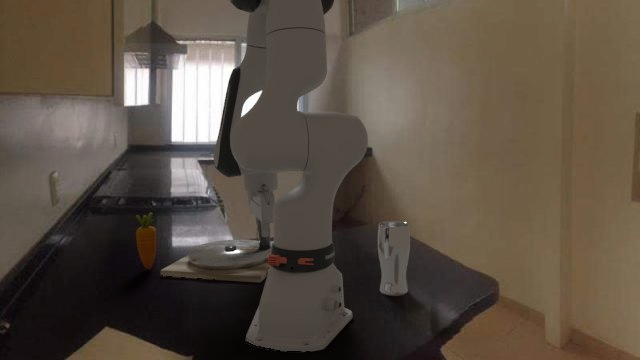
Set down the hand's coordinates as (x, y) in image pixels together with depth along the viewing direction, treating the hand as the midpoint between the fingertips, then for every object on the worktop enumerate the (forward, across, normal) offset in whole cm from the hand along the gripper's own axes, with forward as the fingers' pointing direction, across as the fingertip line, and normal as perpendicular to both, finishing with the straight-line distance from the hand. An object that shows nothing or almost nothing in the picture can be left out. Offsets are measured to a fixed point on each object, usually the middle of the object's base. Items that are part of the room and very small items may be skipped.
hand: (262, 234), depth 127 cm
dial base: (+7, +1, +9) cm, 11 cm away
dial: (+6, +1, +9) cm, 10 cm away
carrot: (+8, +3, +30) cm, 31 cm away
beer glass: (+8, -33, -23) cm, 41 cm away
